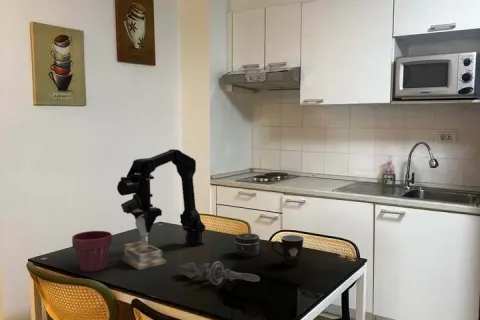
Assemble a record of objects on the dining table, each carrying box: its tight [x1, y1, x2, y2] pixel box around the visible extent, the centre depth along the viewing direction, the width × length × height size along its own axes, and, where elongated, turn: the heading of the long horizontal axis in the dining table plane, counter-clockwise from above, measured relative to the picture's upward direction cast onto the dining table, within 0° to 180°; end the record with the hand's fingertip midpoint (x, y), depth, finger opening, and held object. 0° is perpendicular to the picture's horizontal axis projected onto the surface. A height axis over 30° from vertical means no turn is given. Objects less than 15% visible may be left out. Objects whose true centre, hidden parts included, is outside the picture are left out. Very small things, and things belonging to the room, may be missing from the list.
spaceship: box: [179, 260, 261, 286], centre depth 157 cm, size 8×35×8 cm
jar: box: [234, 232, 260, 258], centre depth 191 cm, size 10×10×8 cm
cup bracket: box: [121, 240, 167, 271], centre depth 181 cm, size 12×14×6 cm
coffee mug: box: [271, 234, 304, 267], centre depth 179 cm, size 12×9×10 cm
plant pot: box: [71, 230, 113, 272], centre depth 174 cm, size 14×14×13 cm
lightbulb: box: [134, 215, 149, 242], centre depth 179 cm, size 6×6×11 cm
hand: (144, 230), depth 180 cm, fingers closed on lightbulb, 6 cm apart
